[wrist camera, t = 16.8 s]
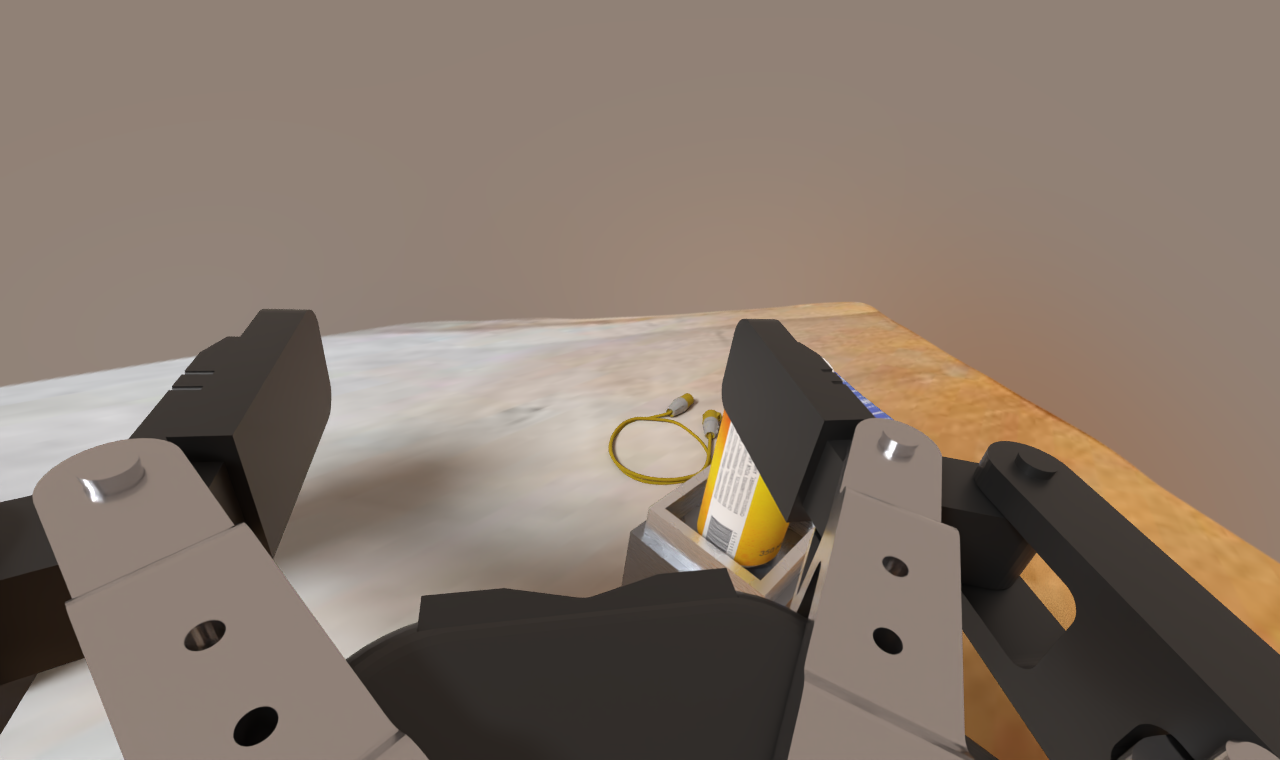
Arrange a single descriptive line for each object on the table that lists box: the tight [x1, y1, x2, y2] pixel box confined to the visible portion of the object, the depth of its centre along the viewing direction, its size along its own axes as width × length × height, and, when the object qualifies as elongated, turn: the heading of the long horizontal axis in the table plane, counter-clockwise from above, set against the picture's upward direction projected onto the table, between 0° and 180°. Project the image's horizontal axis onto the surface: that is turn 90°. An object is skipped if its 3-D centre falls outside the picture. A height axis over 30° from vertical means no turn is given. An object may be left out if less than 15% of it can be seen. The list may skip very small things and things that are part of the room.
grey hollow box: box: [622, 465, 815, 608], centre depth 42 cm, size 15×11×10 cm
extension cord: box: [609, 393, 722, 485], centre depth 63 cm, size 12×16×2 cm
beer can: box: [697, 357, 834, 568], centre depth 38 cm, size 6×6×15 cm
